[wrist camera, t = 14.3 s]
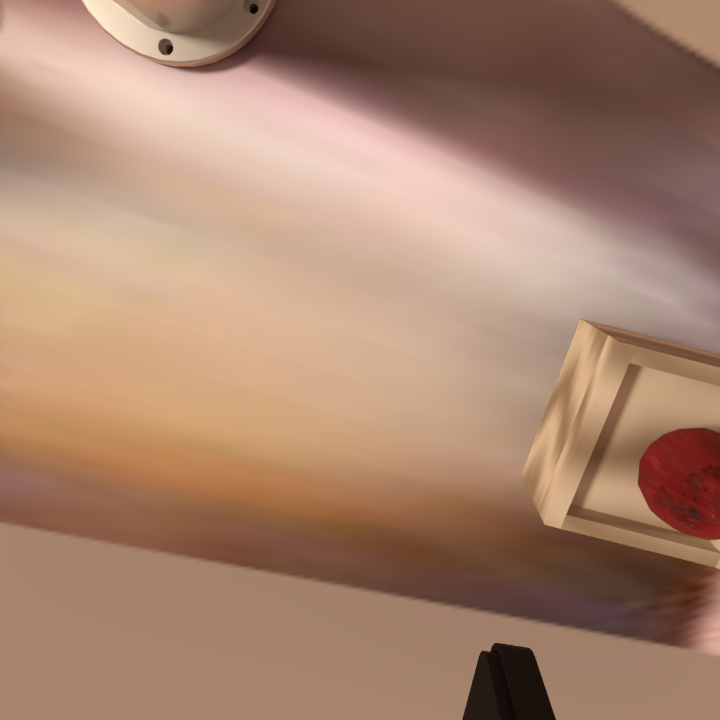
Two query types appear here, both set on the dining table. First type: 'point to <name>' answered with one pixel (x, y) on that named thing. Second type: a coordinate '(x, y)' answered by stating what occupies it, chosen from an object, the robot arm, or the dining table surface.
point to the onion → (684, 481)
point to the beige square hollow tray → (619, 436)
